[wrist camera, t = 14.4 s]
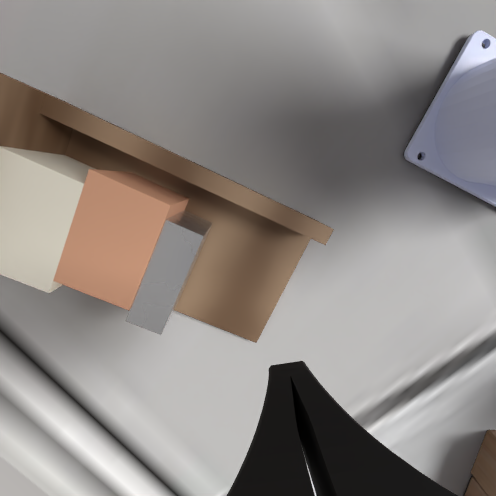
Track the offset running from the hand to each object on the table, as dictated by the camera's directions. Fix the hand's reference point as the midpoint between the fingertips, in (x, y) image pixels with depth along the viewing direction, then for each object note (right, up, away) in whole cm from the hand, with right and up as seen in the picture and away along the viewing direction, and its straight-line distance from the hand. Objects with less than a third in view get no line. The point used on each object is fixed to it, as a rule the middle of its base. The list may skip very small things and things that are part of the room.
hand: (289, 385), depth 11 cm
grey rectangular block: (-6, +5, +8) cm, 11 cm away
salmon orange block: (-9, +7, +8) cm, 13 cm away
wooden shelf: (-7, +6, +8) cm, 13 cm away
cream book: (-12, +8, +7) cm, 16 cm away
